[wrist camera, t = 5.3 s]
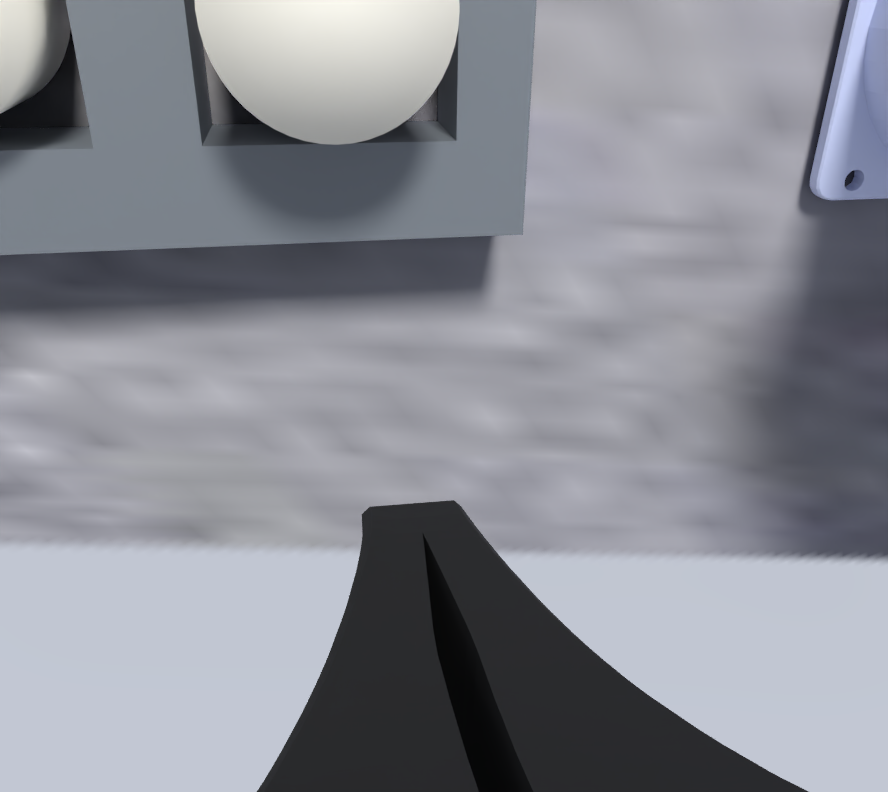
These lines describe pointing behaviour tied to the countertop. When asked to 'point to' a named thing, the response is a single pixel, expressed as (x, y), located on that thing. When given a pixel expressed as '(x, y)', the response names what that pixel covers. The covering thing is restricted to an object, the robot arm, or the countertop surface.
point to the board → (262, 149)
